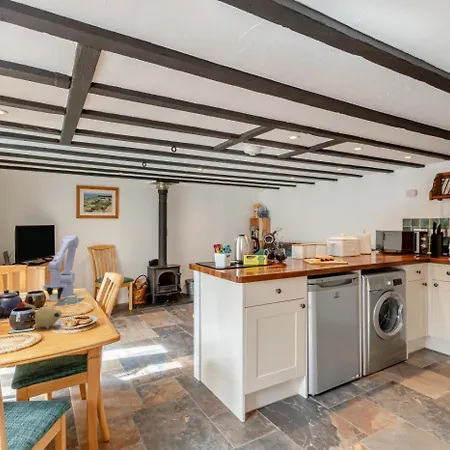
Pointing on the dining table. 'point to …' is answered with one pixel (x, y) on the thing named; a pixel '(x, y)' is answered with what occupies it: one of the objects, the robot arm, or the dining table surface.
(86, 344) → the dining table surface
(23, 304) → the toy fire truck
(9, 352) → the dining table surface
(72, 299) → the base block
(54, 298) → the top block
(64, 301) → the mat
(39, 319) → the toy pig
